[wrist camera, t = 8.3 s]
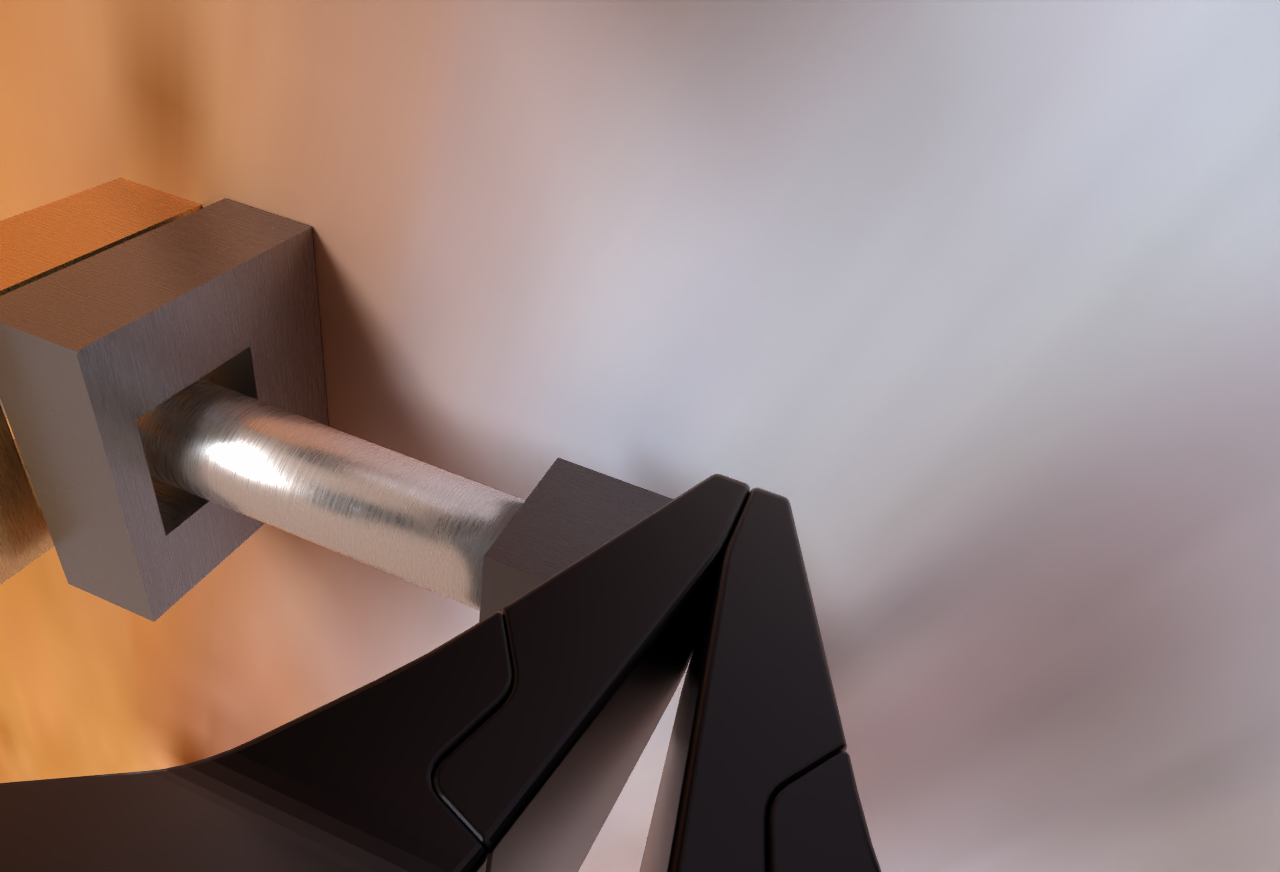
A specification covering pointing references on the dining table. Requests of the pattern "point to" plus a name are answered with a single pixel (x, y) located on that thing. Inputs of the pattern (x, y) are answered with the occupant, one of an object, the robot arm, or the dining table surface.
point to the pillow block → (154, 387)
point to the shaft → (384, 497)
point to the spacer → (32, 249)
